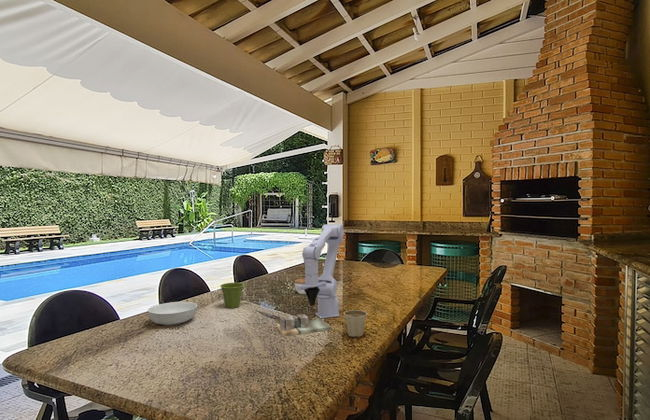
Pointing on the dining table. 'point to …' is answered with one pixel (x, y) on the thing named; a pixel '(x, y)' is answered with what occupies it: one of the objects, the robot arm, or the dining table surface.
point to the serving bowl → (172, 312)
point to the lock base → (305, 325)
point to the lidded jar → (300, 282)
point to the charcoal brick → (296, 322)
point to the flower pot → (355, 322)
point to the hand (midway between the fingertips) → (312, 304)
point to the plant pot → (232, 294)
